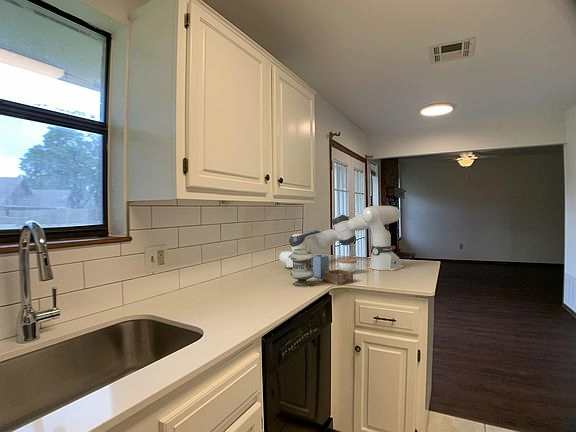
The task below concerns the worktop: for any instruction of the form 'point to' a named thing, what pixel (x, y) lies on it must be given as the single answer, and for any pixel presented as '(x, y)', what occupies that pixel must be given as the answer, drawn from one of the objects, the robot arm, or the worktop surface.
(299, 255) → the apothecary jar
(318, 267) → the slate crate
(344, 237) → the robot arm
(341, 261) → the lidded jar
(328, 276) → the walnut crate
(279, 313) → the worktop surface
